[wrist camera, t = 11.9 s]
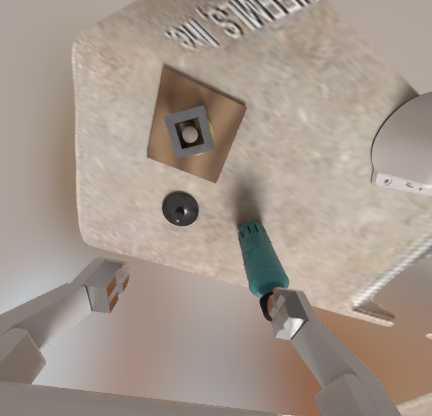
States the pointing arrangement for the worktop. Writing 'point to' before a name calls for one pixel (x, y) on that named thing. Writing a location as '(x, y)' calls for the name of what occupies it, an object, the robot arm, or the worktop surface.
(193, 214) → the stand
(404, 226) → the worktop surface
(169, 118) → the square metal tube
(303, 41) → the worktop surface
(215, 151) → the brown square board
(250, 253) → the beverage bottle
